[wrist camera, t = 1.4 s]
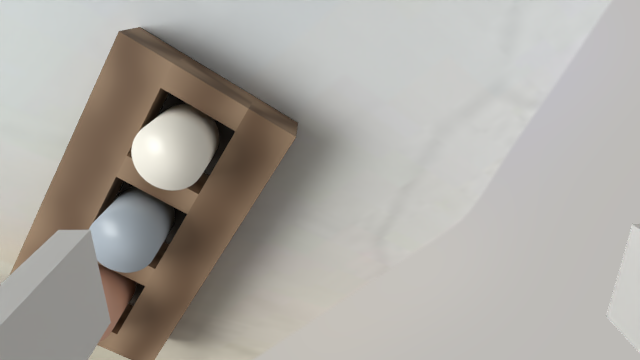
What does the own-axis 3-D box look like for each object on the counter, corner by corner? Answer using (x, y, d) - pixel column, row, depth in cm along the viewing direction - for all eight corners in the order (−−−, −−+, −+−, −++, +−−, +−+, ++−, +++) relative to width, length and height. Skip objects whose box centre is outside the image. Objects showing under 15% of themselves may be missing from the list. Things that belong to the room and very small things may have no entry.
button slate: (105, 222, 39) (76, 253, 34) (129, 175, 37) (102, 201, 33) (159, 249, 40) (139, 283, 35) (185, 205, 38) (167, 234, 34)
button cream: (144, 145, 36) (119, 167, 32) (172, 91, 35) (150, 107, 30) (201, 176, 37) (185, 202, 33) (230, 126, 36) (218, 145, 31)
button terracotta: (70, 289, 41) (39, 327, 37) (91, 248, 40) (62, 282, 35) (122, 313, 42) (99, 352, 38) (145, 274, 41) (123, 310, 36)
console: (25, 274, 43) (-2, 301, 39) (139, 27, 35) (118, 31, 31) (162, 337, 46) (149, 367, 42) (297, 122, 38) (296, 137, 34)
